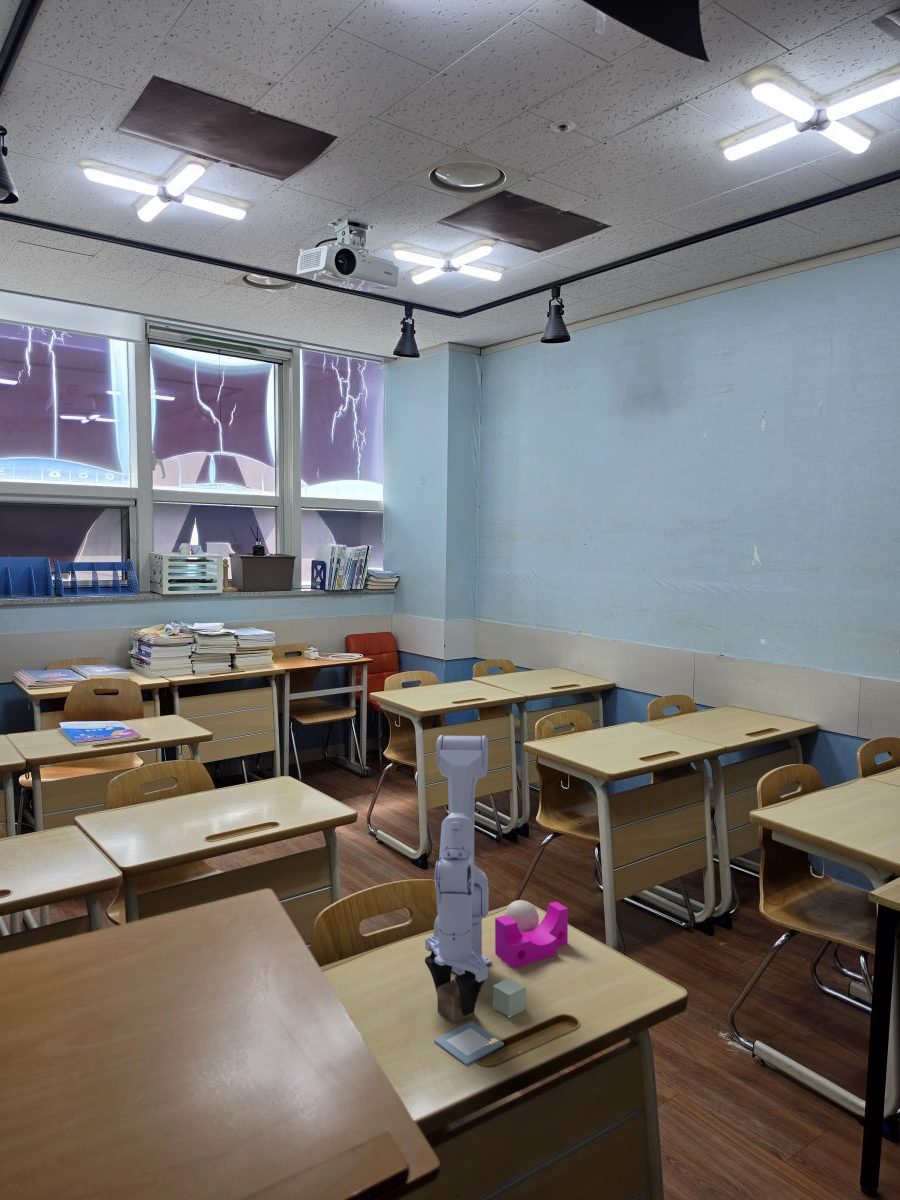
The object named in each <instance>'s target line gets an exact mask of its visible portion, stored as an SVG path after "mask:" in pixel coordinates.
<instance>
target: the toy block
mask: <svg viewBox="0 0 900 1200" xmlns="http://www.w3.org/2000/svg"><path fill="white" fill-rule="evenodd" d="M568 915H569V913H568V907H566V906H564V905H563V904H561V903H560V902H558V901H553V902H549V903H548V904H547V909H546V912H545V915H544V917H543V919H542V920H541V921H540V923H538V926H537V927H536V928H534V929H532V930H530V931H527V932H520V931H519V929H518V925H517V922H516V921H514V920H513V919H512V918H510V917H509V916H507V915H505V914H504V915H502V916H498V917H495V919H494V928H495V929H494V931H495V932H494V934H495V935H494V936H495V937H494V938H495V939H494V940H495V941H494V942H495V943H494V944H495V945H494V948H495V949H494V951H495V952H494V953H495V955H496V956H497V957H498V958H500V960H502V961H503V962H505V963H506V964H507V965H509V966H510V967H511V968H512V969H515V968H519V967H520V966H524V965H527V964H530V963H533V962H537V961H540V960H543V959H547V958H550V957H553V956H556V955H557V953H558V952H557V948H558V947H560V946H561V947H562V946H564V945H567V944H568V942H569V941H568V940H569V939H568V934H569V933H568V931H569V930H568V929H569V928H568V922H569V921H568V919H569V918H568Z"/></svg>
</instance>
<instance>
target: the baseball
mask: <svg viewBox="0 0 900 1200" xmlns="http://www.w3.org/2000/svg"><path fill="white" fill-rule="evenodd" d="M504 915H507V916H509V917H510V918H512V919H513V920H514V921H516V922H517V925H518V929H519V931H520V932H527V931H530V930H532V929H534V928H536V927H537V926H538V925H539V921H540V919H539V918H540V916H539V914H538V912H537V910H536V907H534V905H533V904H532V903H531V902H529V901H526V900H522V899H518V900H514V901H512V902H511V903H510V904H508V906H507V907H506V909H505V912H504Z"/></svg>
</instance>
